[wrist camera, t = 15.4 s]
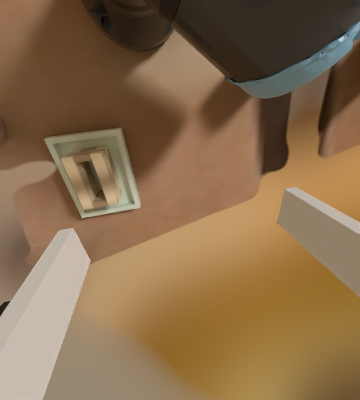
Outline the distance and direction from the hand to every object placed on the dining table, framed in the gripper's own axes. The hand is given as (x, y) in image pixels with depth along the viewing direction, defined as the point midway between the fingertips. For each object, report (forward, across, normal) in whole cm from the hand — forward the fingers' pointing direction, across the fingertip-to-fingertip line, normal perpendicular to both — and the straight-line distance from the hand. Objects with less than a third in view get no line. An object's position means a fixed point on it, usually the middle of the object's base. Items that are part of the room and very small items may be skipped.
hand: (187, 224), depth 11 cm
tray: (+29, -13, -5) cm, 32 cm away
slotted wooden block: (+28, -13, -4) cm, 31 cm away
